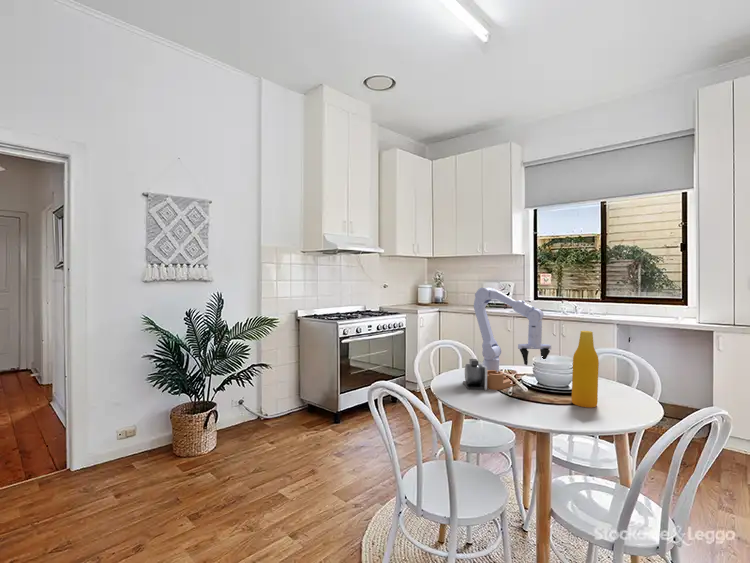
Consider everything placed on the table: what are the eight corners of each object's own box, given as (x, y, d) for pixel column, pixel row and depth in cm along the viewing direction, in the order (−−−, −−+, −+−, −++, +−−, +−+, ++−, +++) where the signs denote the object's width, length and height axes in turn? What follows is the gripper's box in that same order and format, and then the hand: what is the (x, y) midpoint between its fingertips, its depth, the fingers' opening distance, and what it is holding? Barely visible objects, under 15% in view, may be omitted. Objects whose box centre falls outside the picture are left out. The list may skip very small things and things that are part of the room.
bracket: (496, 391, 181) (496, 375, 181) (480, 387, 188) (480, 371, 187) (518, 384, 193) (519, 369, 193) (503, 380, 199) (503, 365, 199)
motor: (462, 382, 194) (463, 356, 193) (479, 382, 194) (480, 357, 194) (468, 390, 182) (469, 363, 181) (486, 390, 182) (487, 363, 182)
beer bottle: (566, 401, 168) (568, 330, 167) (584, 399, 171) (586, 329, 170) (583, 409, 160) (586, 333, 158) (602, 406, 162) (605, 332, 161)
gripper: (522, 336, 186) (521, 366, 187) (554, 336, 186) (553, 366, 187) (516, 333, 193) (516, 362, 194) (547, 334, 194) (547, 363, 194)
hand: (534, 364), depth 191 cm, fingers open, 7 cm apart
